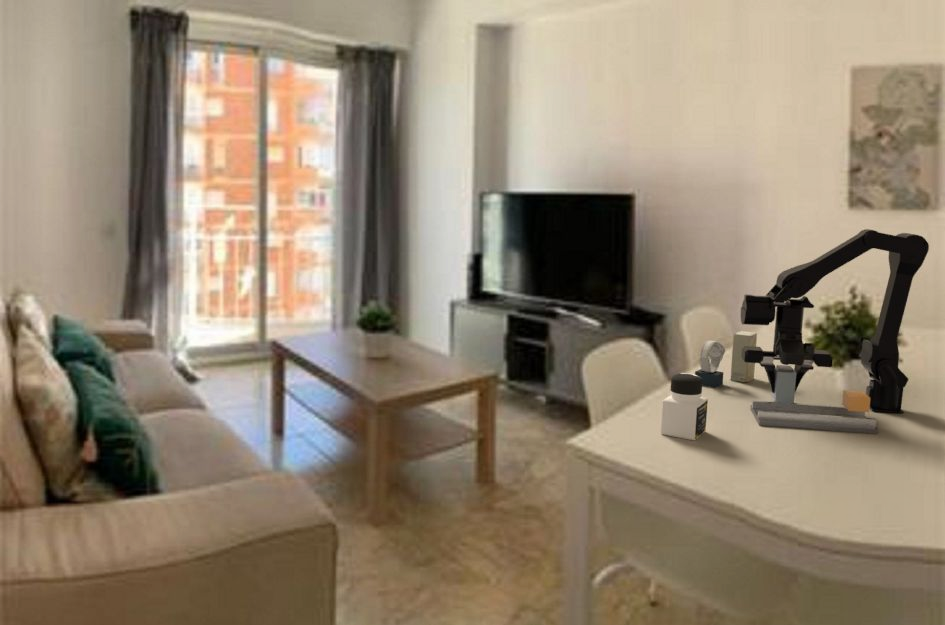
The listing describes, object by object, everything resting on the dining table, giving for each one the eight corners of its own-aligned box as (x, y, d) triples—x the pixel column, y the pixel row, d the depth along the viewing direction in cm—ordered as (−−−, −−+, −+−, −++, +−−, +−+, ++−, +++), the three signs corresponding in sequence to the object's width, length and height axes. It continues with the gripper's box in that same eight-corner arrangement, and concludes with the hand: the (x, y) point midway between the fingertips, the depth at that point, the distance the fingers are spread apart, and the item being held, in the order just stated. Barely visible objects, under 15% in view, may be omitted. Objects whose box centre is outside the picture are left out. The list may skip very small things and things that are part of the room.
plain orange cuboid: (862, 405, 169) (863, 391, 169) (869, 412, 164) (870, 398, 164) (842, 404, 170) (843, 390, 170) (848, 410, 165) (849, 396, 165)
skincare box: (746, 383, 200) (750, 336, 198) (729, 380, 203) (732, 333, 201) (754, 378, 205) (758, 332, 203) (737, 375, 208) (740, 330, 206)
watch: (725, 382, 200) (728, 340, 198) (712, 389, 194) (715, 345, 192) (704, 379, 204) (707, 337, 202) (690, 384, 198) (693, 341, 196)
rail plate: (860, 416, 173) (861, 405, 173) (877, 434, 161) (878, 422, 161) (750, 409, 177) (751, 398, 177) (759, 425, 166) (760, 413, 165)
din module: (789, 397, 184) (792, 365, 183) (793, 403, 180) (796, 370, 178) (771, 396, 185) (773, 364, 184) (775, 401, 180) (777, 369, 179)
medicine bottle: (695, 441, 155) (699, 381, 153) (660, 434, 159) (663, 376, 157) (705, 431, 161) (710, 374, 159) (671, 425, 165) (675, 369, 163)
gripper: (750, 330, 173) (745, 399, 176) (842, 335, 170) (835, 405, 173) (743, 321, 184) (738, 387, 187) (829, 325, 181) (822, 392, 183)
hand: (782, 393), depth 182 cm, fingers closed on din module, 4 cm apart
